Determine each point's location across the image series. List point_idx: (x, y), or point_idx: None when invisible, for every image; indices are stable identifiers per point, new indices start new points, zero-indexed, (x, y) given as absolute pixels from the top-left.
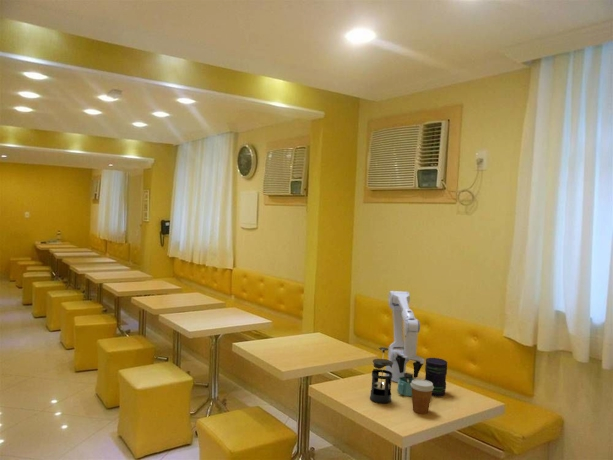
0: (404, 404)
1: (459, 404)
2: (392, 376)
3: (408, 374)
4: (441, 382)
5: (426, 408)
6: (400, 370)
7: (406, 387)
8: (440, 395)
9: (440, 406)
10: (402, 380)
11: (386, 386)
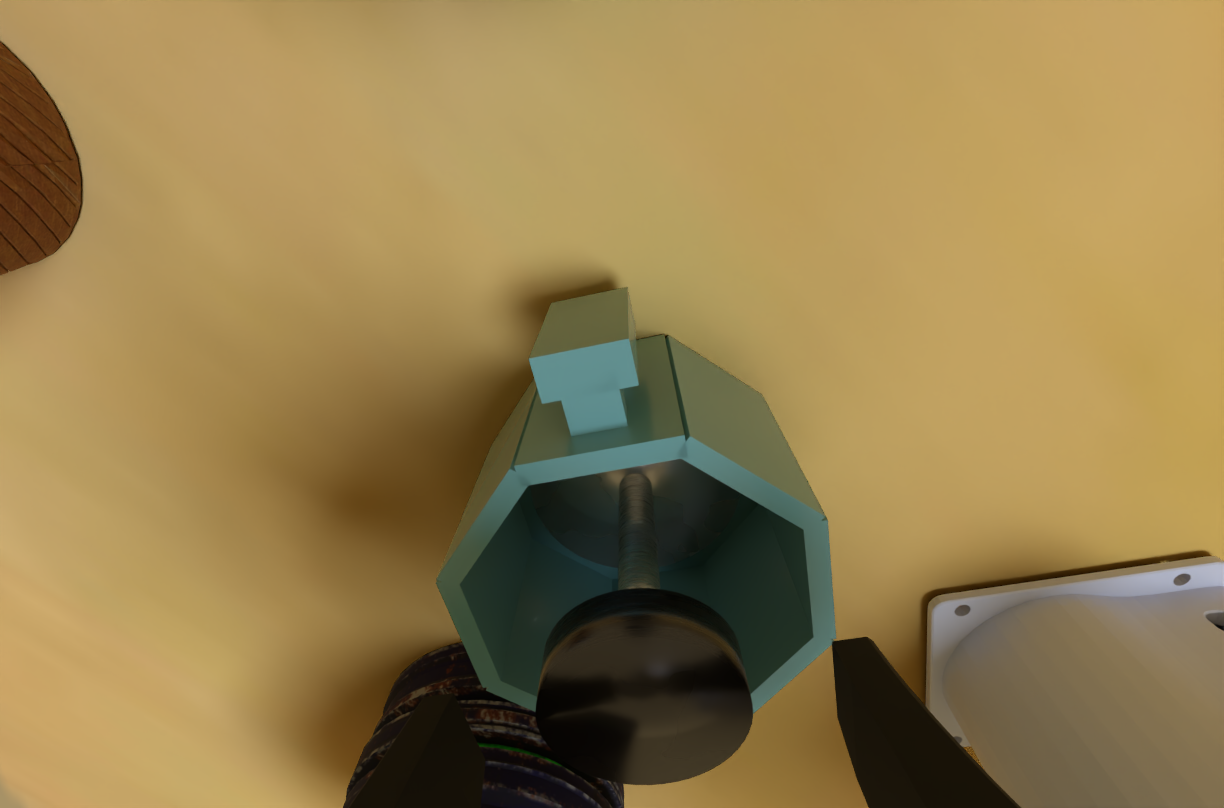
0: (243, 71)
1: (151, 714)
2: (1108, 627)
3: (630, 708)
4: None
5: None
6: (861, 692)
7: (520, 426)
8: (383, 714)
9: (112, 521)
10: (791, 573)
11: None
